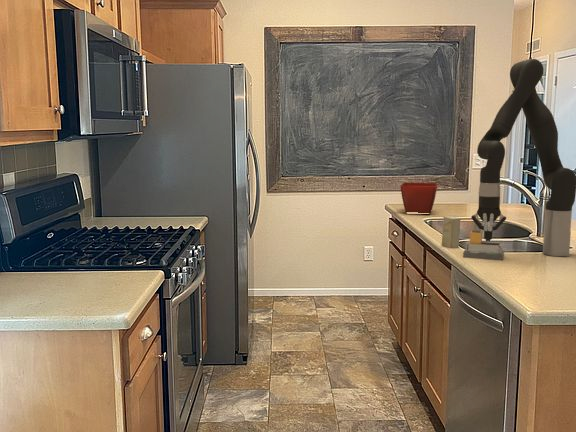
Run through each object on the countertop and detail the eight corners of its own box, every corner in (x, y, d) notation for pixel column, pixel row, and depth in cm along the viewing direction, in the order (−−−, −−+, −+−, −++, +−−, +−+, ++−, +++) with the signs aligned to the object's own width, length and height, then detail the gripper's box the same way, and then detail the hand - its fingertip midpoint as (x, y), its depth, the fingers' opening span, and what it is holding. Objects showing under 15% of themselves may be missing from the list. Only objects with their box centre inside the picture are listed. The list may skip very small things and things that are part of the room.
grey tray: (504, 255, 229) (504, 242, 228) (502, 260, 221) (503, 246, 220) (466, 252, 234) (466, 240, 234) (463, 257, 226) (463, 244, 225)
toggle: (481, 249, 230) (482, 230, 228) (480, 251, 226) (481, 231, 225) (470, 248, 231) (471, 229, 230) (469, 250, 227) (470, 231, 226)
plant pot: (399, 215, 336) (400, 185, 334) (403, 210, 354) (404, 182, 352) (434, 216, 331) (435, 186, 328) (436, 212, 349) (437, 183, 346)
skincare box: (441, 245, 249) (442, 216, 247) (450, 244, 250) (451, 215, 249) (450, 248, 243) (451, 218, 241) (459, 247, 245) (461, 217, 243)
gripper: (509, 194, 224) (507, 240, 227) (472, 193, 230) (470, 238, 232) (507, 196, 218) (506, 243, 220) (469, 195, 223) (468, 241, 225)
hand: (487, 240), depth 226 cm, fingers closed
